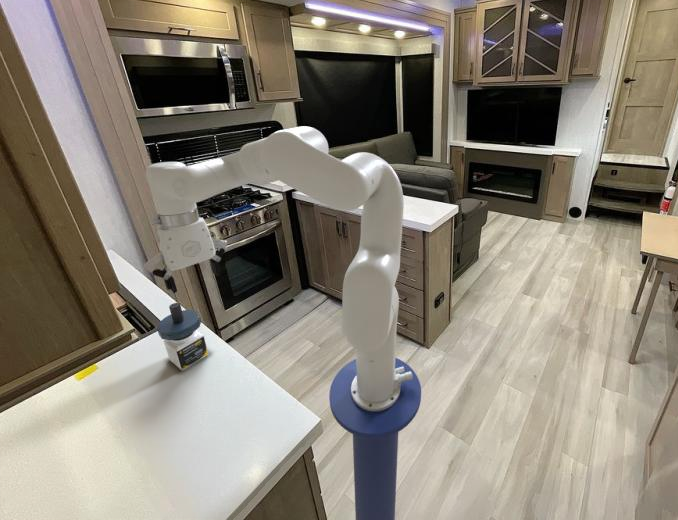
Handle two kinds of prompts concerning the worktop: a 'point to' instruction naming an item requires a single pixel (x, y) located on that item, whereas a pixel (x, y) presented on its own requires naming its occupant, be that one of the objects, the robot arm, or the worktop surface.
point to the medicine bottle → (186, 350)
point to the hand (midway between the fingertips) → (196, 282)
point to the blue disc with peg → (178, 323)
